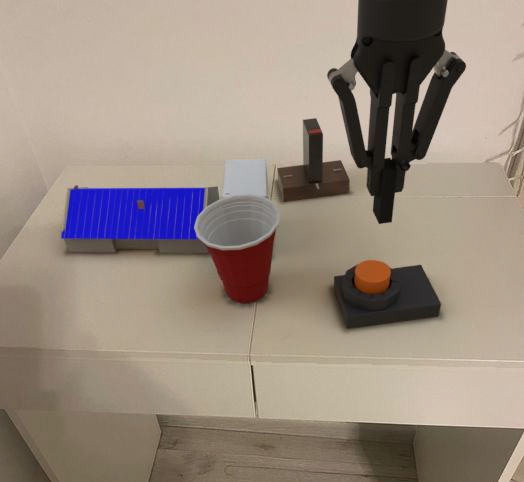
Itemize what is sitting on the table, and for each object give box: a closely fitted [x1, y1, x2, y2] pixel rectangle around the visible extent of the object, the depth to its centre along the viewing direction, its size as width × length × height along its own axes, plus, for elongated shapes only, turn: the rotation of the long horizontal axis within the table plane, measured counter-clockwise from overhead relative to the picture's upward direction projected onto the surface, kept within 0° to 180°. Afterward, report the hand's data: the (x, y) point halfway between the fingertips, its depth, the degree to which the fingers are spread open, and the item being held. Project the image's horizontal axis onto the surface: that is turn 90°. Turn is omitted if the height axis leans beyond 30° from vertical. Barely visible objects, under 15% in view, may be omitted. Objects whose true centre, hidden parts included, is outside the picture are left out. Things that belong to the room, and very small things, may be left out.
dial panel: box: [276, 159, 351, 202], centre depth 92 cm, size 11×10×3 cm
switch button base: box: [333, 264, 442, 329], centre depth 72 cm, size 12×8×4 cm, turn 97°
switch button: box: [354, 259, 391, 294], centre depth 70 cm, size 4×4×2 cm
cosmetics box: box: [221, 157, 270, 200], centre depth 81 cm, size 10×6×10 cm, turn 0°
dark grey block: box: [302, 117, 324, 183], centre depth 89 cm, size 6×2×8 cm, turn 7°
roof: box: [60, 185, 221, 254], centre depth 86 cm, size 22×14×7 cm, turn 84°
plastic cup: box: [194, 194, 281, 304], centre depth 72 cm, size 11×11×12 cm
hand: (382, 216), depth 64 cm, fingers closed
